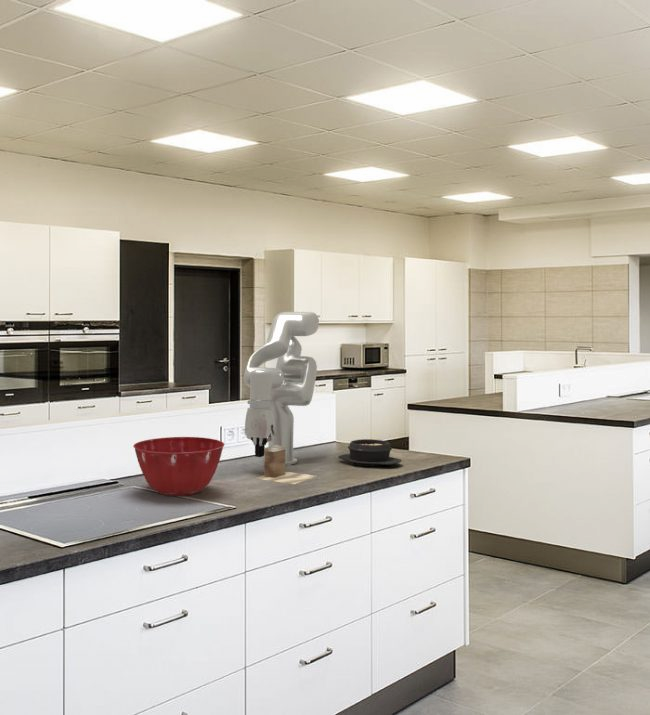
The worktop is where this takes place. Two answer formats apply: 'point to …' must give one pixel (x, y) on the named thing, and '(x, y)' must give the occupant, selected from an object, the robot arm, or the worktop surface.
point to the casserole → (370, 453)
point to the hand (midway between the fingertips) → (259, 456)
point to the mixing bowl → (178, 463)
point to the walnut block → (274, 461)
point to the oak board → (289, 478)
